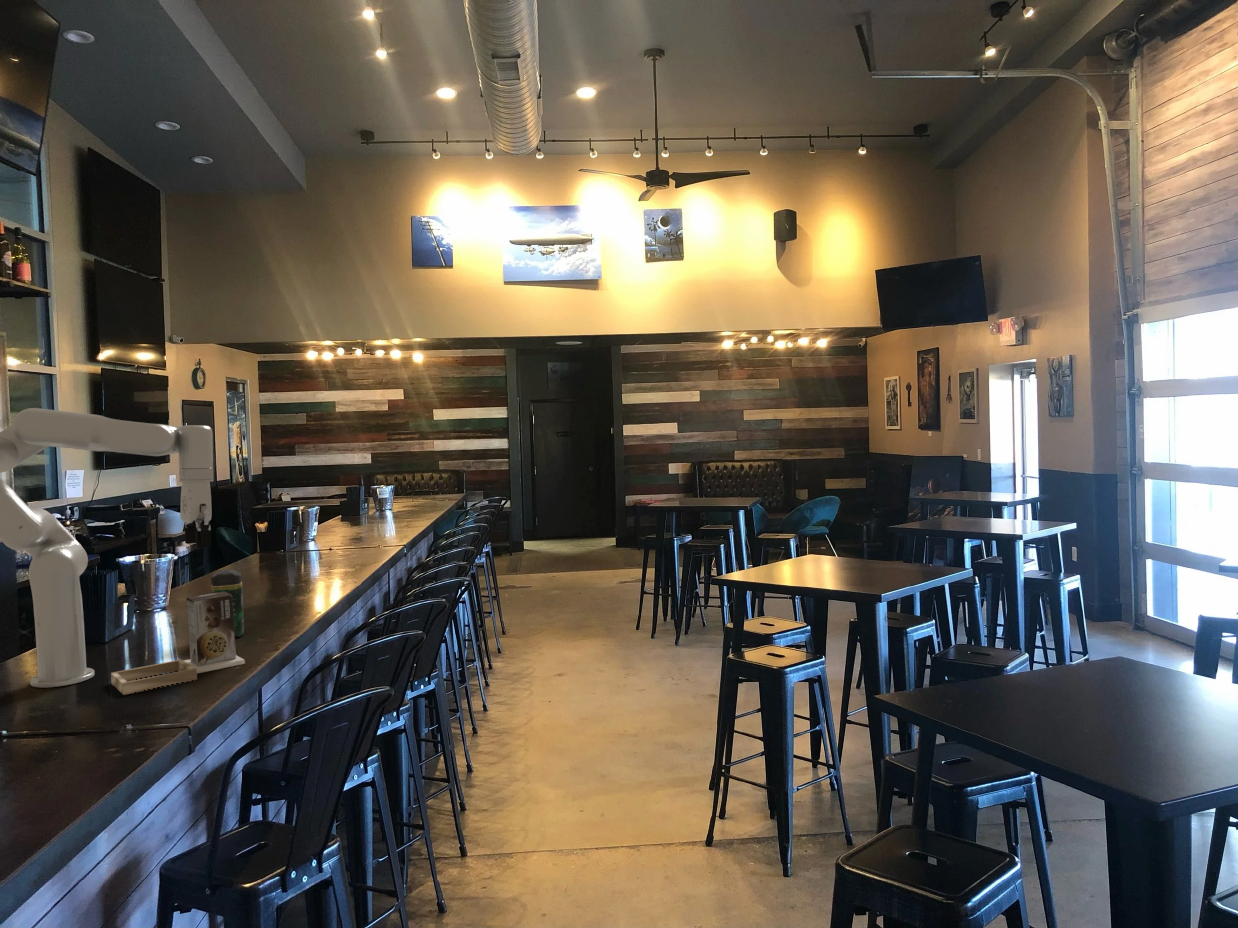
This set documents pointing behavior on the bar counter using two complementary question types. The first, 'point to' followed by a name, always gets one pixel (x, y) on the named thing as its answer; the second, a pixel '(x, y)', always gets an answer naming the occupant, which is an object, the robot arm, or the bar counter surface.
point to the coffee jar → (232, 585)
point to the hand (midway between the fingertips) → (197, 545)
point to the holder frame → (125, 687)
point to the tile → (217, 664)
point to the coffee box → (211, 628)
